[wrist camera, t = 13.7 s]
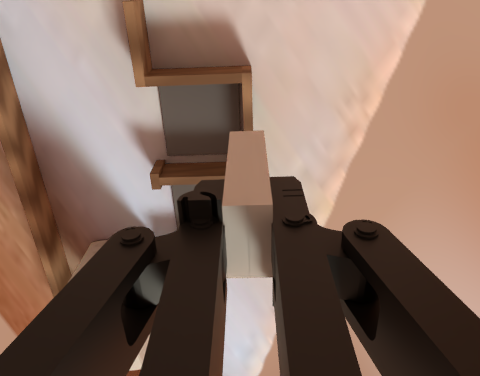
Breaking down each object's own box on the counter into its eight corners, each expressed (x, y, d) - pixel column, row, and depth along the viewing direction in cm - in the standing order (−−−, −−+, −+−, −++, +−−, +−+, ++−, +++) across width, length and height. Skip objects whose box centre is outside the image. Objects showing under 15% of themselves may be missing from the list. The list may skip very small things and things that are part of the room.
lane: (-19, 6, 41) (-44, 8, 37) (249, -5, 40) (249, -4, 37) (73, 304, 60) (62, 324, 57) (256, 300, 59) (257, 321, 56)
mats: (158, 84, 45) (158, 85, 44) (238, 81, 44) (238, 82, 44) (178, 235, 54) (178, 236, 54) (244, 233, 54) (244, 235, 54)
